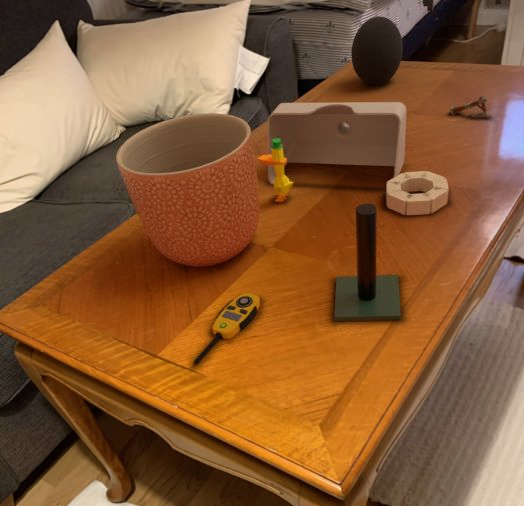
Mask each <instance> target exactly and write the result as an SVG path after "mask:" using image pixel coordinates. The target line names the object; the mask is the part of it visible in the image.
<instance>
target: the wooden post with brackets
mask: <svg viewBox="0 0 524 506" xmlns="http://www.w3.org/2000/svg"><path fill="white" fill-rule="evenodd" d="M487 101H489V97H487V96H481V95H480V96H479V97H478V99H477V100H474V101H471V102H468V103H466V104H464V105H460V106H456V105H453V106H451V107H450V108H449V112H450V115H451V116H455V115H456V114H459V113H460V112H463V111H466V110H467V111H468V110H469V109H472V108H475V107H478V108H479V109H481V110H482V112H480V111H478V112H474V113H473V114H472V115H471V117H472V118H478V119H479V118H481V117H482V116H484V118H485V119H488V118H489V117H490V115H489V110H488V109H487V106H486V105H487V104H486V102H487Z"/></svg>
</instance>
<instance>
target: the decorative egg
mask: <svg viewBox="0 0 524 506" xmlns="http://www.w3.org/2000/svg"><path fill="white" fill-rule="evenodd" d="M403 43H404V42H403V38H402V34H401V31H400V29H399V28H398V27H397V25H396V24H395V22H393V21H392V19H389V18H387V17H385V16H373V17H370V18H368V19H367V20H365V21H364V22H363V23H362V24H361V25H360V26H359V28H358V29H357V31H356V33H355V35H354V38H353V40H352V44H351V50H350V51H351V56H350V57H351V63H352V68H353V71H354V73H355V74H356V76H357V77H358V78H359V80H360V81H361V82H362V83H365V84H366V85H369V86H380V85H383V84H386V83H387V82H389V81H390V80H391V79H392V78H393V77H394V76H395V74H396V73H397V71H398V69H399V68H400V65H401V62H402V58H403V54H404V53H403V51H404V45H403Z"/></svg>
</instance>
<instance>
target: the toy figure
mask: <svg viewBox="0 0 524 506" xmlns="http://www.w3.org/2000/svg"><path fill="white" fill-rule="evenodd" d="M272 142H273V144H272V145H271V152H272V155H268V154H263V155H260V156H258V157H257V158H256V160H257V161H259V163H260V164H261V165H264V166H268V165H272V166H274V169H275V172H276V178H275V179H274V183H273V188H274V189H273V191H274V192H275V193H276V194H277V195H278V196H277V197H276V199H275V200H274V202H276V203H283V202H285V200H286V199H287V197H286V196H288V194H289V192H290V190H291V189H292V187H293V185H294V183H295V182H294V181H290V178H289V177H288V176H287V175H285V168H284V164H286V162H287V159H286V158H285V157H284V155H283V145H282V144H281V139H279V138H276V139H273V140H272Z"/></svg>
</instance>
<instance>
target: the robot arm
mask: <svg viewBox="0 0 524 506" xmlns="http://www.w3.org/2000/svg"><path fill="white" fill-rule="evenodd" d="M501 4H502V0H494V6H496V5H501ZM434 5H435V0H422V6H423V7H424V8H425V7H426V11H427V12H433V11H434Z"/></svg>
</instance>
